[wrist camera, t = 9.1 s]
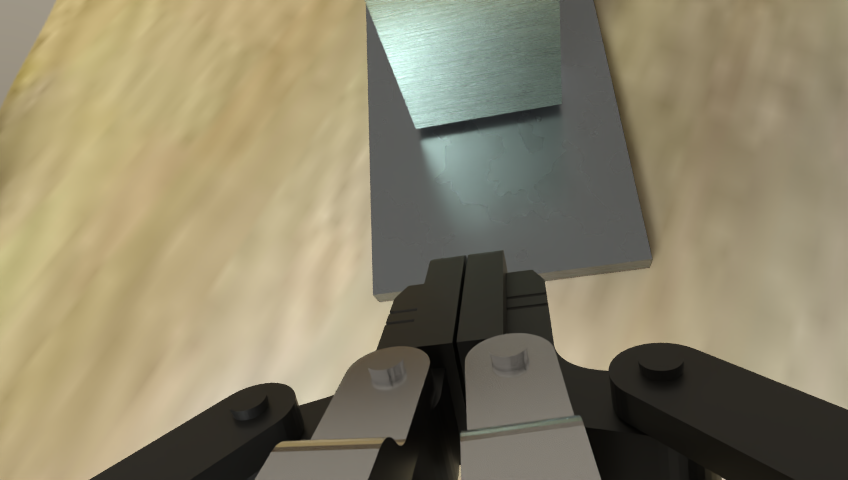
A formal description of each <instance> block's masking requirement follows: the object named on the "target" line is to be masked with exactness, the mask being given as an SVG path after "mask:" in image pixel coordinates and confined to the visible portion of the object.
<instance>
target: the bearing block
mask: <svg viewBox="0 0 848 480" xmlns="http://www.w3.org/2000/svg"><path fill="white" fill-rule="evenodd" d="M559 2H560V44H561V86H562V104H558V105H552V106H546V107H540V108H535V109H529V110H523V111H517V112H511V113H506V114H500V115H494V116H488V117H483V118H477V119H471V120H465V121H459V122H454V123H448V124H442V125H436V126H431V127H425V128H419V129H416V128H415V125H414V123H413V120H412V118H411V115H410V113H409V110H408V108H407V105H406V103H405V100H404V98H403V95H402V93H401V90H400V88H399V85H398V82H397V80H396V77H395V75H394V72H393V70H392V67H391V65H390V62H389V60H388V57H387V55H386V52H385V50H384V47H383V45H382V42H381V40H380V37H379V35H378V32H377V30H376V27H375V25H374V22H373V19H372V17H371V14H370V12H369V9H368V7H367V4H366V22H367V63H368V104H369V145H370V186H371V227H372V268H373V295H374V297H375V298H376V299H377V300H378V301H379V302H383V301H391V300H394V299H395V298H396V297H397V296H398V295H399V294H400V293H401V292H402V291H403V290H404V289H405V288H407V287H408V286H410V285H418V284H424V282H425V278H426V275H427V271H428V267H429V263H430V260H434V259H441V258H448V257H456V256H463V255H466V257H468V255H469V254H477V253H484V252H491V251H499V250H503V251H504V255H505V260H506V265H507V272H508V273H509V272H517V271H525V270H533V271H535V272H536V273H537V274H538V275H540V276H541V277H542V278H543V279H544V280H545V281H549V280H557V279H565V278H572V277H580V276H588V275H596V274H604V273H612V272H620V271H628V270H636V269H643V268H650V265H651V262H652V255H651V251H650V247H649V242H648V238H647V234H646V229H645V225H644V220H643V216H642V212H641V207H640V203H639V198H638V194H637V190H636V185H635V181H634V176H633V172H632V168H631V163H630V159H629V155H628V150H627V146H626V141H625V137H624V133H623V128H622V124H621V119H620V115H619V111H618V106H617V102H616V98H615V93H614V89H613V84H612V80H611V76H610V71H609V67H608V62H607V58H606V54H605V49H604V45H603V41H602V36H601V32H600V27H599V23H598V19H597V14H596V10H595V5H594V1H593V0H559Z"/></svg>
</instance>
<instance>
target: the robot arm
mask: <svg viewBox="0 0 848 480" xmlns="http://www.w3.org/2000/svg"><path fill="white" fill-rule="evenodd" d="M459 465H461V480H722V478H724V479H726V480H848V410H847V409H844V408H842V407H839V406H837V405H834V404H832V403H829V402H827V401H824V400H822V399H819V398H817V397H814V396H812V395H809V394H807V393H804V392H802V391H799V390H797V389H794V388H791V387H789V386H786V385H784V384H781V383H779V382H776V381H774V380H771V379H769V378H766V377H764V376H761V375H759V374H756V373H754V372H751V371H749V370H746V369H744V368H741V367H739V366H736V365H734V364H731V363H729V362H726V361H724V360H721V359H719V358H716V357H714V356H711V355H709V354H706V353H704V352H701V351H699V350H696V349H693V348H690V347H687V346H683V345H679V344H671V343H650V344H643V345H639V346H635V347H632V348H629V349H627V350H625V351H623V352H621V353H620V354H618V355H617V356H616V357H615V358H614V359H613V360H612V362H611V363H610V366H609V371H603V370H594V369H587V368H583V367H579V366H577V365H574V364H571V363H569V362H567V361H566V360H564V359H563V358H562V357H561V356H560V355H559V354H558V353H557V352H556V350H555V347H554V342H553V335H552V328H551V321H550V314H549V308H548V301H547V294H546V287H545V280H544V279H543V278H542V277H541V276H540V275H538V274H537V273H536V272H535V271H533V270H525V271H517V272H509V273H508V272H507V265H506V260H505V255H504V251H503V250H499V251H491V252H484V253H477V254H469V255H468V257H466V255H463V256H456V257H448V258H441V259H434V260H430V263H429V267H428V271H427V275H426V278H425V282H424V284H418V285H410V286H408V287H407V288H405V289H404V290H403V291H402V292H401V293H400V294H399V295H398V296H397V297H396V298H395V299H394V302H393V304H392V307H391V310H390V314H389V316H388V319H387V322H386V325H385V327H384V330H383V333H382V336H381V339H380V342H379V344H378V347H377V350H376V351H374V352H372V353H369V354H367V355H365V356H363V357H362V358H360V359H358V360H357V361H356V362H355V363H353V364H352V365H351V366H350V367H349V369H348V370H347V372H346V374H345V376H344V377H343V379H342V381H341V383H340V385H339V387H338V389H337V391H336V393H335V394H334V395H332V396H330V397H327V398H323V399H320V400H317V401H313V402H310V403H307V404H303V405H300V406H299V405H298V402H297V399H296V395H295V392H294V391H293V389H292V388H291V387H289V386H287V385H285V384H280V383H265V384H259V385H255V386H251V387H248V388H245V389H243V390H241V391H238V392H236V393H234V394H232V395H231V396H229V397H227V398H225V399H224V400H222V401H220V402H219V403H217V404H215V405H214V406H212V407H210V408H209V409H207V410H205V411H204V412H202V413H200V414H199V415H197V416H195V417H194V418H192V419H190V420H189V421H187V422H185V423H184V424H182V425H180V426H179V427H177V428H175V429H174V430H172V431H170V432H168V433H167V434H165V435H163V436H162V437H160V438H158V439H157V440H155V441H153V442H152V443H150V444H148V445H147V446H145V447H143V448H142V449H140V450H138V451H137V452H135V453H133V454H132V455H130V456H128V457H127V458H125V459H123V460H122V461H120V462H118V463H117V464H115V465H113V466H112V467H110V468H108V469H107V470H105V471H103V472H102V473H100V474H98V475H96V476H95V477H93V478H91V479H90V480H458V475H459ZM721 477H722V478H721Z"/></svg>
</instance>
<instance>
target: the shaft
mask: <svg viewBox="0 0 848 480" xmlns="http://www.w3.org/2000/svg"><path fill="white" fill-rule="evenodd" d="M365 2H366V4H367V7H368V9H369V12H370V14H371V17H372V19H373V22H374V25H375V27H376V30H377V32H378V35H379V37H380V40H381V42H382V45H383V47H384V50H385V52H386V55H387V57H388V60H389V62H390V65H391V67H392V70H393V72H394V75H395V77H396V80H397V82H398V85H399V88H400V90H401V93H402V95H403V98H404V100H405V103H406V105H407V108H408V110H409V113H410V115H411V118H412V120H413V123H414V125H415V128H416V129H419V128H425V127H431V126H436V125H442V124H448V123H454V122H459V121H465V120H471V119H477V118H483V117H488V116H494V115H500V114H506V113H511V112H517V111H523V110H529V109H535V108H540V107H546V106H552V105H558V104H562V86H561V44H560V2H559V0H365Z"/></svg>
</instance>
